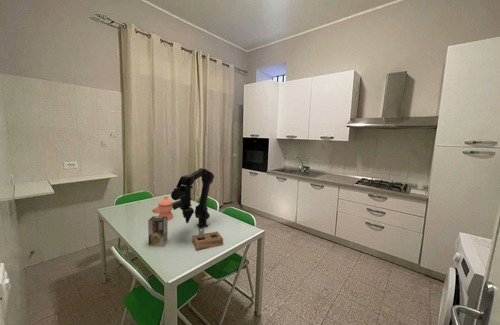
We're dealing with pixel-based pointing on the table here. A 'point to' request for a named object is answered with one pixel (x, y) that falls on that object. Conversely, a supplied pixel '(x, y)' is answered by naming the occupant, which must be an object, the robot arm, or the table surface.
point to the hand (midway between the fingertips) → (185, 220)
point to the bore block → (207, 241)
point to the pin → (201, 234)
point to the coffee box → (157, 231)
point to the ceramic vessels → (164, 208)
